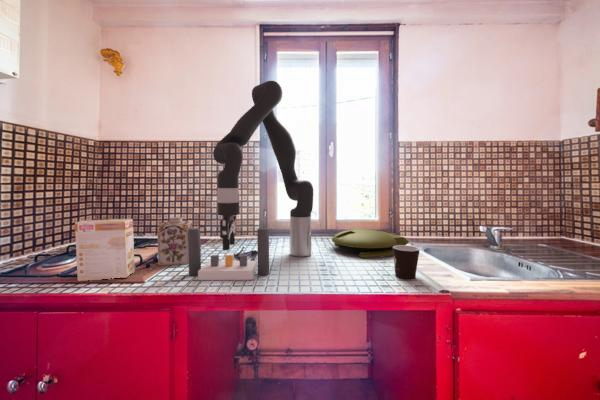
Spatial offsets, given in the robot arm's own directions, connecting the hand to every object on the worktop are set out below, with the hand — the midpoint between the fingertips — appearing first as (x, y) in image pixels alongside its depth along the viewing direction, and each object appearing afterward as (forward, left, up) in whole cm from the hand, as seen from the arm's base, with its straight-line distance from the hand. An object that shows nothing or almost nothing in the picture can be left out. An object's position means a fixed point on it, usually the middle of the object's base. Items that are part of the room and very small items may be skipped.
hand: (229, 247), depth 99 cm
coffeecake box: (+41, +2, -10) cm, 42 cm away
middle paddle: (0, 0, -6) cm, 6 cm away
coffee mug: (-62, +3, -10) cm, 63 cm away
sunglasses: (-3, -21, -10) cm, 24 cm away
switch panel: (0, 0, -10) cm, 10 cm away
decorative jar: (+25, -17, -10) cm, 32 cm away
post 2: (-12, 0, -10) cm, 15 cm away
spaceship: (-59, -36, -10) cm, 70 cm away
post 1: (+12, 0, -10) cm, 15 cm away
